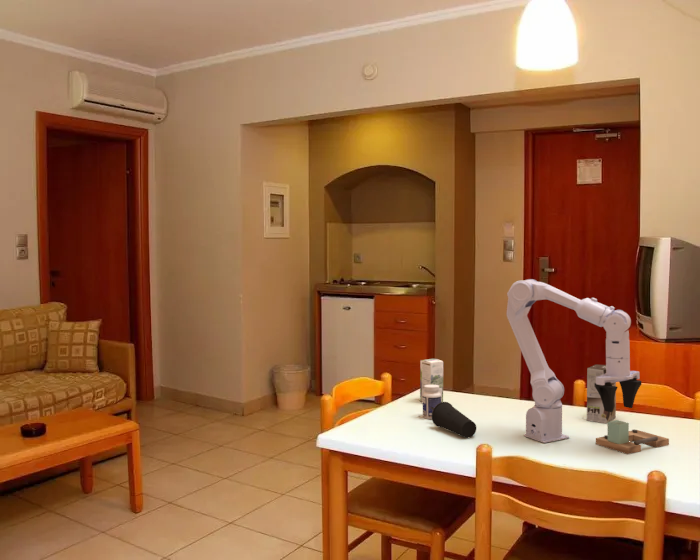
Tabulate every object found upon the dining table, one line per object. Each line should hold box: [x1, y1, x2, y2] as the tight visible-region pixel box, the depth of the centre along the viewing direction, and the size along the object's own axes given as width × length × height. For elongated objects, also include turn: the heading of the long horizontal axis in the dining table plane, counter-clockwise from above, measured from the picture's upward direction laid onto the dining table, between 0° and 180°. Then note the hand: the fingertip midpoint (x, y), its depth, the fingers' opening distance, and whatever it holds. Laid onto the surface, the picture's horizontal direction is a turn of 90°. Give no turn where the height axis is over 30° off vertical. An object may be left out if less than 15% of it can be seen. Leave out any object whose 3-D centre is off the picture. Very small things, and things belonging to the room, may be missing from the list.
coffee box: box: [586, 364, 617, 424], centre depth 197 cm, size 9×6×16 cm
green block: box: [607, 419, 630, 444], centre depth 168 cm, size 4×4×5 cm
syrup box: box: [419, 358, 444, 403], centre depth 222 cm, size 6×6×14 cm
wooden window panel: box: [595, 429, 670, 455], centre depth 171 cm, size 16×10×3 cm, turn 118°
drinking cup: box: [431, 401, 477, 439], centre depth 187 cm, size 8×8×20 cm
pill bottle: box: [422, 385, 441, 420], centre depth 201 cm, size 6×6×10 cm
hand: (618, 409), depth 168 cm, fingers open, 7 cm apart
